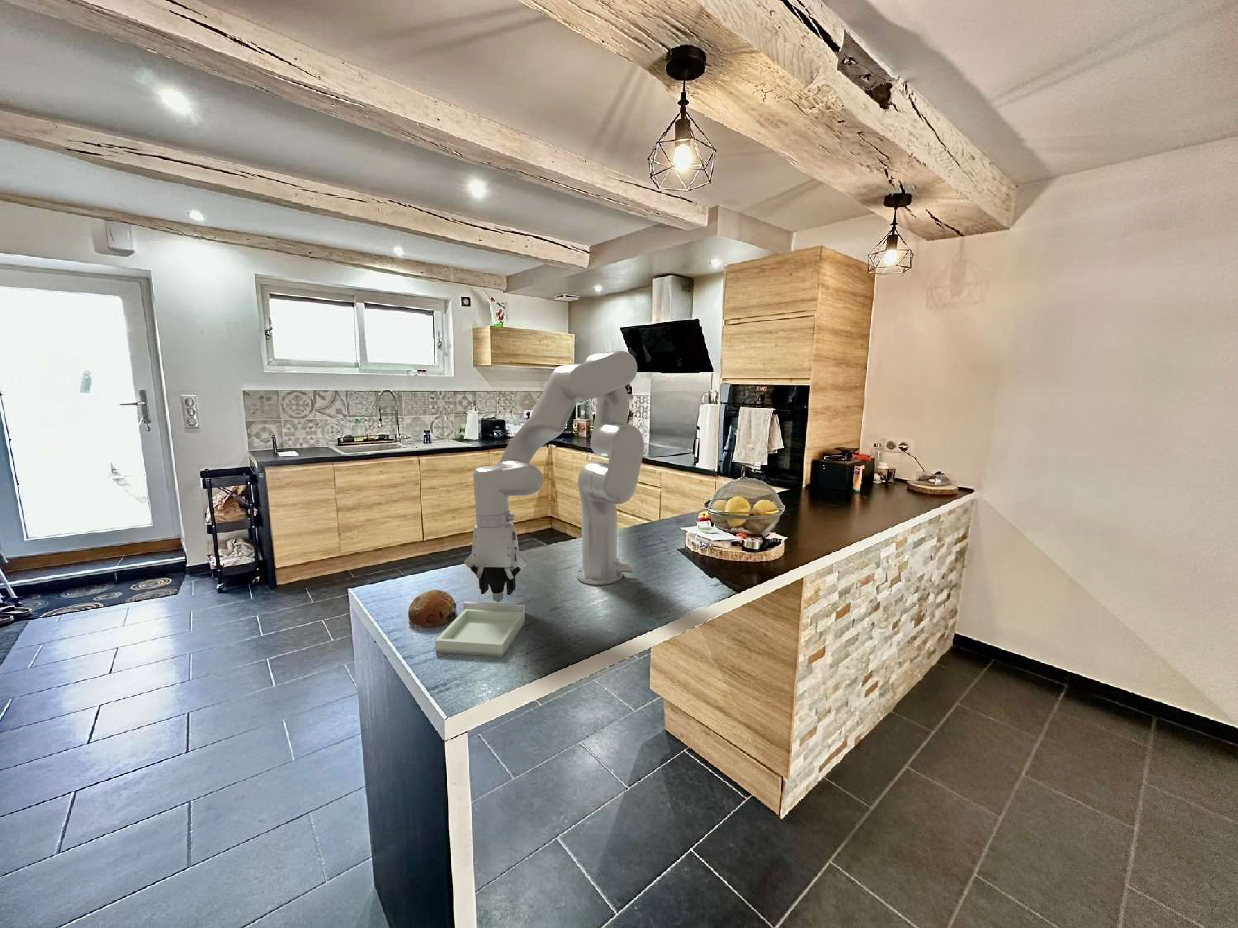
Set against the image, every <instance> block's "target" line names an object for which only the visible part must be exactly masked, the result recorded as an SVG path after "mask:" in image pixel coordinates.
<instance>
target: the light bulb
mask: <svg viewBox="0 0 1238 928" xmlns="http://www.w3.org/2000/svg"><path fill="white" fill-rule="evenodd" d="M507 578H508V576H507V573H506V571H505V569H504V568H496V567H486V568H485V570H484V579H485V581H486V582H487V583H488V584H489V588H490V591H491V593H492V600H493V601H495V603H500V602H501V601H502V600H503V599H504V591H505V586H506V580H507Z"/></svg>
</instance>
